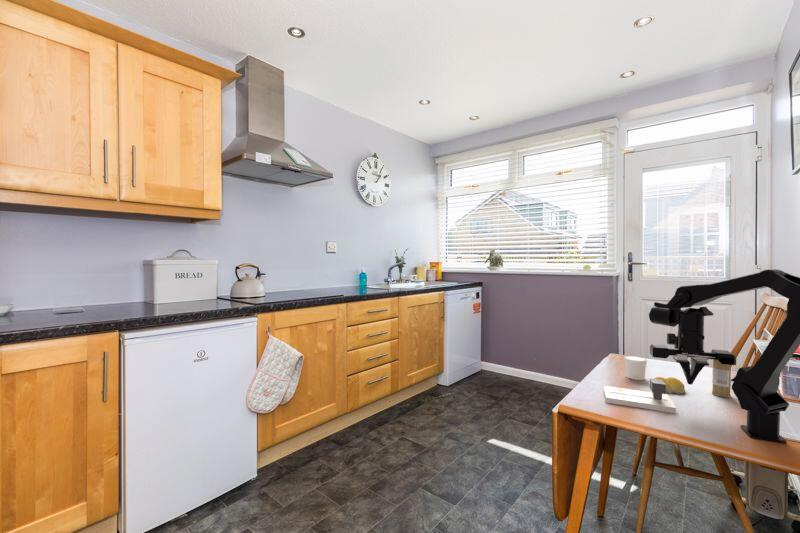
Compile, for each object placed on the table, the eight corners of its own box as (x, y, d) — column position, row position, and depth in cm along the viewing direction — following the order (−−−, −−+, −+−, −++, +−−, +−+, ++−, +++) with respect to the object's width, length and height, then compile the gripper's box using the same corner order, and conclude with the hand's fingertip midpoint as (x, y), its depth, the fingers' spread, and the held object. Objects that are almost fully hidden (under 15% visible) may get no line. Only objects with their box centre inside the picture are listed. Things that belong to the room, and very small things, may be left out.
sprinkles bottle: (732, 395, 115) (734, 353, 115) (727, 398, 112) (729, 355, 112) (714, 391, 119) (715, 350, 118) (709, 394, 116) (710, 352, 116)
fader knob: (665, 401, 106) (665, 384, 106) (652, 399, 107) (652, 382, 107) (662, 395, 110) (662, 380, 109) (649, 394, 111) (649, 378, 111)
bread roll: (647, 384, 126) (647, 372, 126) (678, 387, 123) (678, 375, 123) (656, 392, 118) (656, 380, 118) (689, 396, 115) (689, 383, 115)
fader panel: (676, 413, 102) (676, 407, 102) (606, 402, 109) (606, 397, 109) (667, 399, 112) (667, 394, 112) (603, 390, 119) (603, 385, 119)
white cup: (627, 379, 130) (627, 359, 130) (621, 373, 137) (621, 354, 136) (649, 381, 128) (649, 361, 128) (642, 375, 135) (643, 356, 134)
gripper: (722, 327, 108) (721, 380, 108) (646, 322, 116) (646, 371, 116) (737, 334, 98) (736, 392, 98) (653, 328, 106) (652, 382, 106)
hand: (689, 384), depth 105 cm, fingers closed
